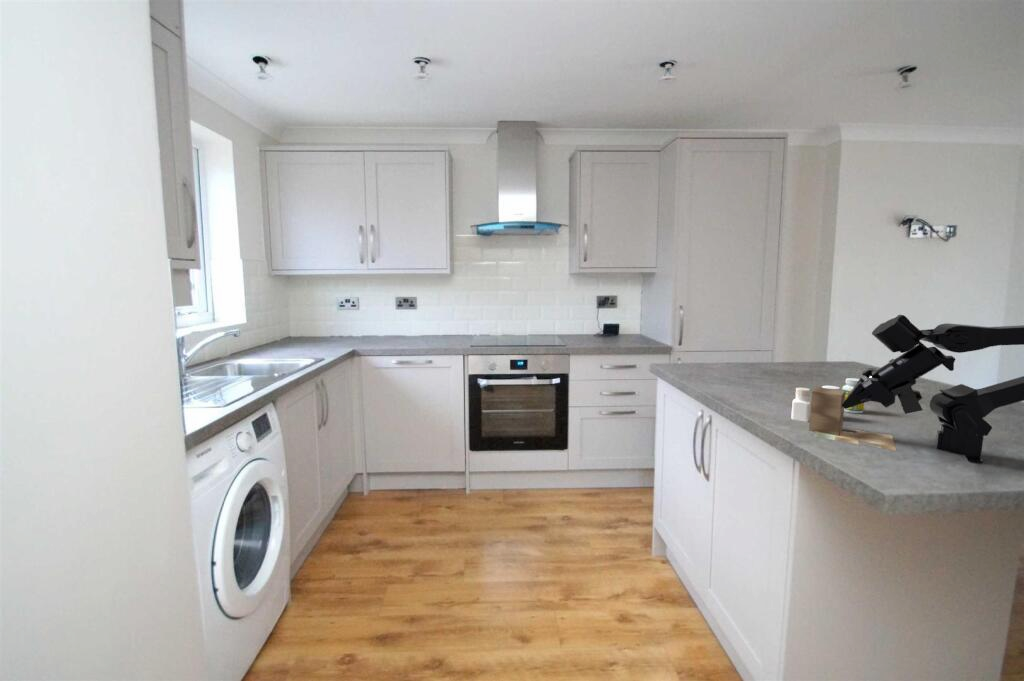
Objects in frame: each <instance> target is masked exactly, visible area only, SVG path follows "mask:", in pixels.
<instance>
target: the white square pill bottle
mask: <svg viewBox="0 0 1024 681" xmlns="http://www.w3.org/2000/svg"><path fill="white" fill-rule="evenodd" d="M810 394H811V388H808V387H796V388H795V394H794V395H795V398H793V400H792V403H791V404H792V405H791V415H790V416H791V417H790V420H791V419H792V420H794V421H800V422H805V423H806V422H810V411H811V400H810V396H811V395H810Z"/></svg>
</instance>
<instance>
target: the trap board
mask: <svg viewBox="0 0 1024 681" xmlns="http://www.w3.org/2000/svg"><path fill="white" fill-rule="evenodd" d="M845 430H847V428H845V427H842V431H841V432H840V434H839V435H838V436H837V435H832V434H826V433H821V432H816V431H814V435H813V436H814V438H819V439H824V440H829V441H835V442H842V443H848V444H854V445H860V446H865V447H872V448H878V449H884V450H889V451H895V452H896V451H897V449H896V444H895V440H894V436H893V435H890V434H885V433H880V432H879V433H877V432H870V431H864V430H859V429H858V430H857V429H851V428H848V430H850V431H845ZM853 431H855V432H853ZM860 442H863V443H869V444H874V445H868V444H863V443H860ZM875 445H880V446H875Z"/></svg>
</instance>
